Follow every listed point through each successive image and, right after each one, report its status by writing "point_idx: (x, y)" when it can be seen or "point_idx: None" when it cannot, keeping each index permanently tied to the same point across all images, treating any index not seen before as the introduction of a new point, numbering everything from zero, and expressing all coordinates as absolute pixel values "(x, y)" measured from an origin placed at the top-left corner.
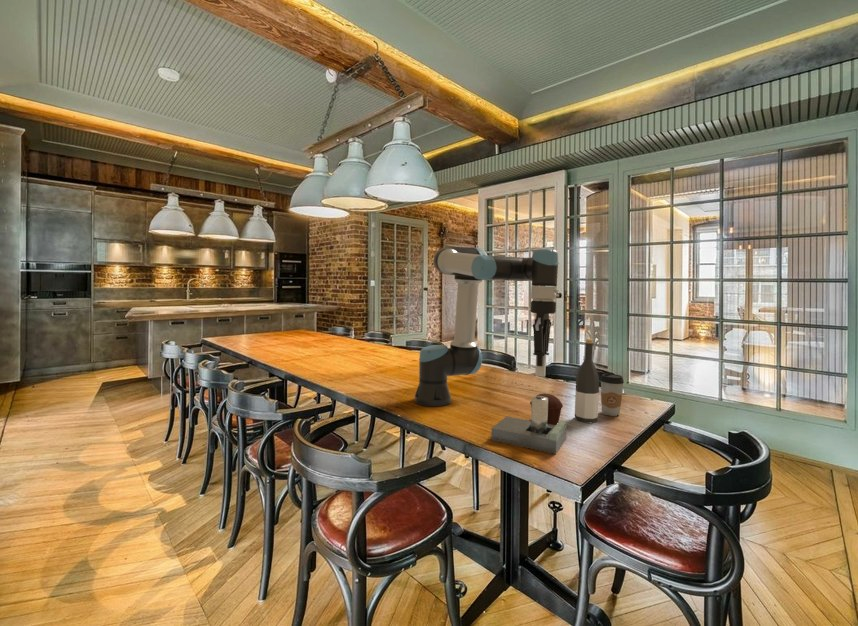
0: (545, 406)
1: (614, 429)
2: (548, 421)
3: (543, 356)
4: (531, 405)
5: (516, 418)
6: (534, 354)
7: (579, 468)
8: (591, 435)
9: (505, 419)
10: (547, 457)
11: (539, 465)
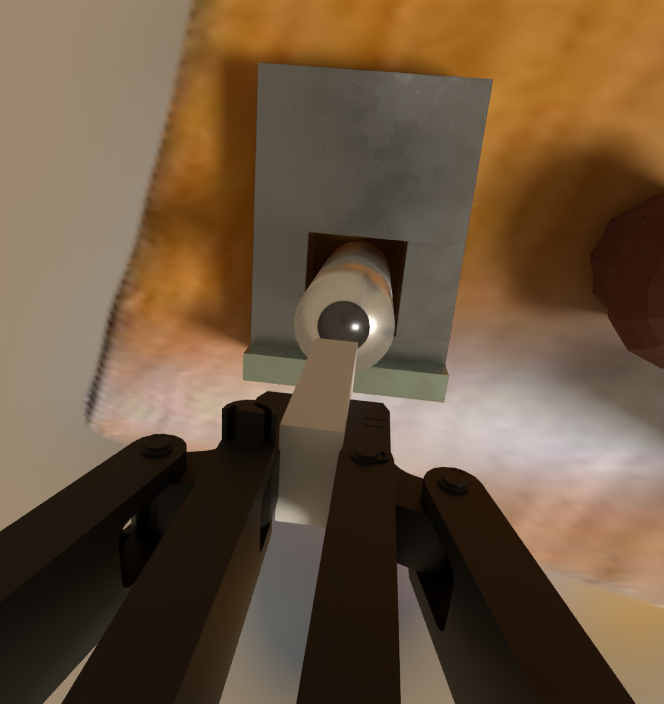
0: None
1: (638, 527)
2: (599, 287)
3: (276, 502)
4: (332, 269)
5: (477, 145)
6: (230, 417)
7: (191, 426)
8: (526, 452)
9: (433, 90)
10: (221, 328)
11: (142, 314)
